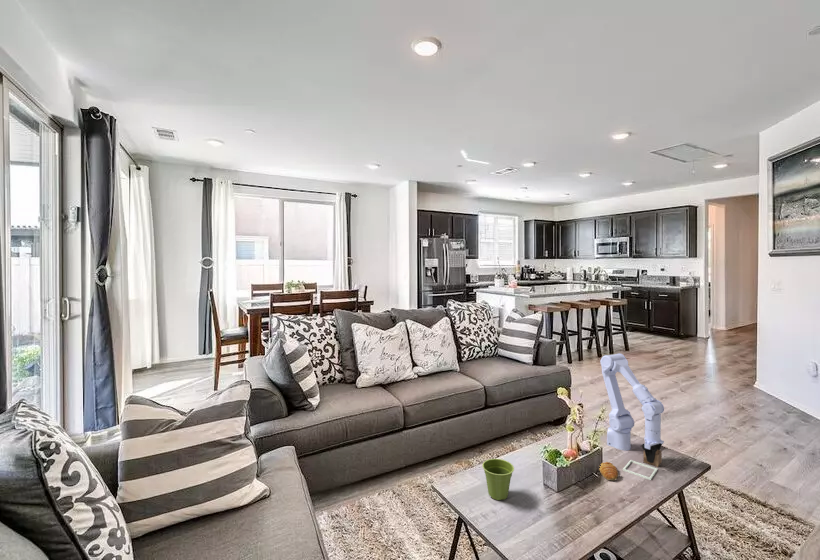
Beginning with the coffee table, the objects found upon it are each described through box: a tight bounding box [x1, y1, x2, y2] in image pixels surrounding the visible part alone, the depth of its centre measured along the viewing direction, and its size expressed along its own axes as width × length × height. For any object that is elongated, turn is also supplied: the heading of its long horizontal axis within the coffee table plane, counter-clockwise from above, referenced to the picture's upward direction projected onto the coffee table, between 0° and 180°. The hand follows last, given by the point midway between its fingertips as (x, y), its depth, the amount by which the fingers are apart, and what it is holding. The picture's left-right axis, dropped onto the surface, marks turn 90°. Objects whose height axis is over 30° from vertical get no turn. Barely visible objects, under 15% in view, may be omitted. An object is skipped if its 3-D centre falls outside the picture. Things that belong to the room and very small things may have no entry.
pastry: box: [598, 461, 619, 481], centre depth 157 cm, size 9×7×4 cm
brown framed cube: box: [642, 449, 663, 468], centre depth 164 cm, size 5×5×5 cm
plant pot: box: [481, 458, 515, 501], centre depth 146 cm, size 12×12×11 cm
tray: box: [622, 459, 658, 481], centre depth 159 cm, size 10×10×2 cm
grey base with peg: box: [642, 461, 663, 468], centre depth 164 cm, size 6×6×5 cm
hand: (652, 459), depth 164 cm, fingers closed on brown framed cube, 5 cm apart
